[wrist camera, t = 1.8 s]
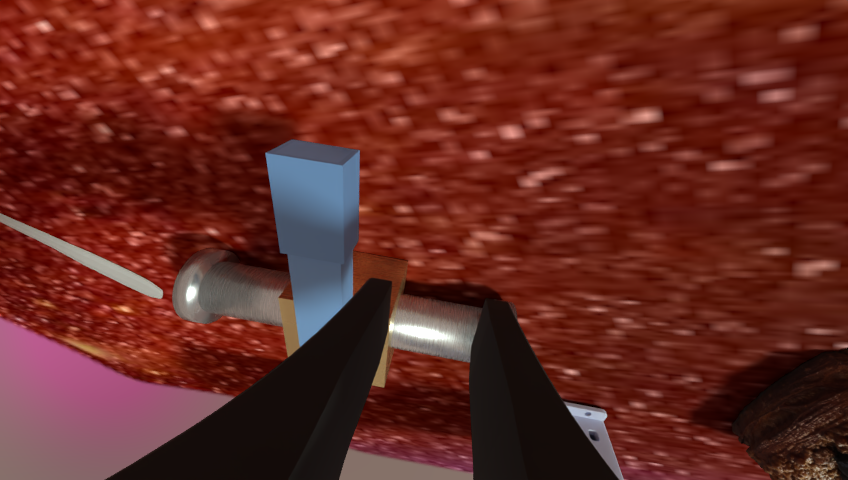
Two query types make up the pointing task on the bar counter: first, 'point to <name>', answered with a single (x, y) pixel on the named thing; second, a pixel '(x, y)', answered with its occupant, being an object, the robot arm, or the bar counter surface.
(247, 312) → the valve pipe
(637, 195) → the bar counter surface
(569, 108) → the bar counter surface
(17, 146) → the bar counter surface
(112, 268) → the butter knife
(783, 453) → the pastry
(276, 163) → the lever
